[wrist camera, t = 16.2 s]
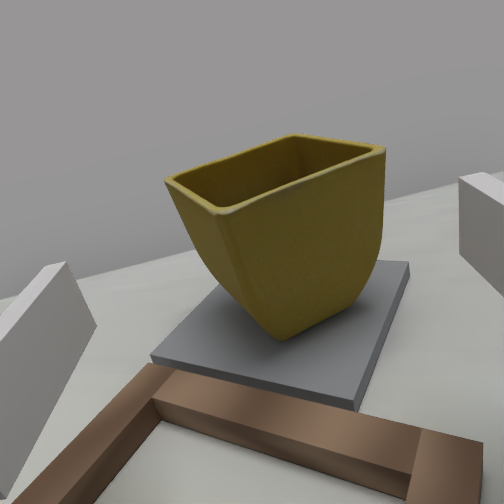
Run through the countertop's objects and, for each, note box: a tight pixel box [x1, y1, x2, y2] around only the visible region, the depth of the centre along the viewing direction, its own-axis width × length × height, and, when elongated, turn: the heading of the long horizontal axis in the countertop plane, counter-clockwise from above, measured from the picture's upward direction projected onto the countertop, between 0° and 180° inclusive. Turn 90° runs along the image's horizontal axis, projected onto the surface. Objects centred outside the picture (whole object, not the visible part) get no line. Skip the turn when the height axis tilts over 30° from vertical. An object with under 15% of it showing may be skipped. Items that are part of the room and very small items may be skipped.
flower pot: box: [164, 134, 386, 341], centre depth 24 cm, size 9×9×9 cm
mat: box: [150, 260, 410, 412], centre depth 26 cm, size 12×12×1 cm
